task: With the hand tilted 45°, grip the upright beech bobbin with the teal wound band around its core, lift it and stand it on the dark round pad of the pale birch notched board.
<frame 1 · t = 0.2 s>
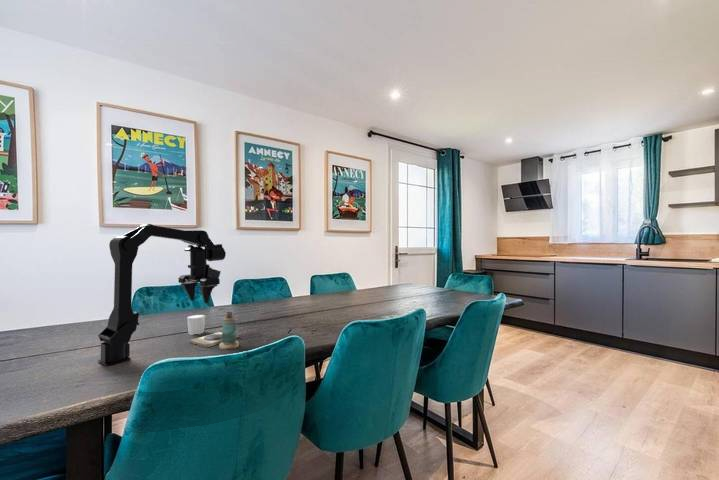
hand: (199, 301, 125), 14 cm above the table, tool pointing down, fingers open, 9 cm apart
bobbin: (229, 346, 115), on the table
white rounded piece: (196, 333, 132), on the table
notched board: (214, 340, 123), on the table
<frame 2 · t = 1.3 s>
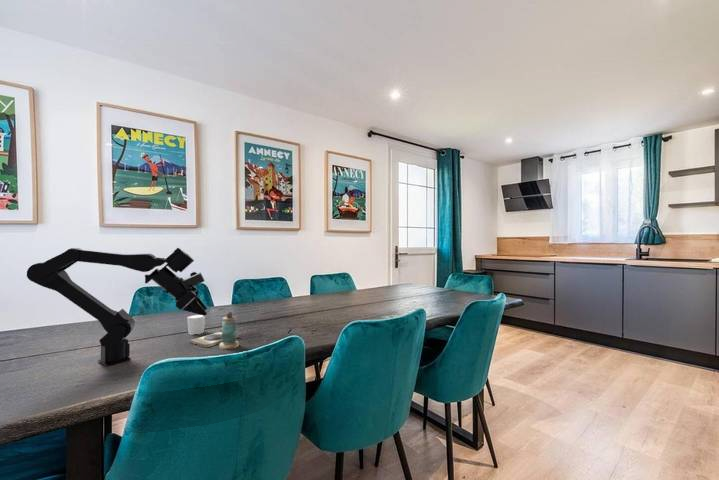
hand: (205, 311, 112), 13 cm above the table, tool tilted 45°, fingers open, 9 cm apart
nothing on the table moved.
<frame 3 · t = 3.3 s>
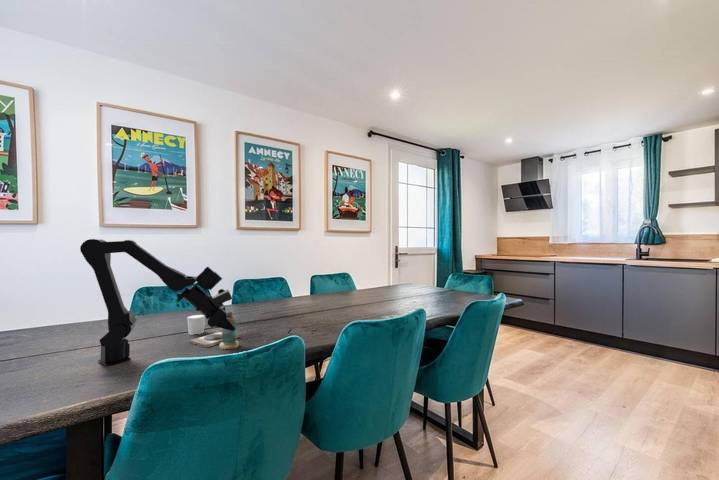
hand: (233, 327, 116), 7 cm above the table, tool tilted 45°, fingers closed on bobbin, 5 cm apart
bobbin: (229, 346, 115), on the table, touching gripper
everything else where it was.
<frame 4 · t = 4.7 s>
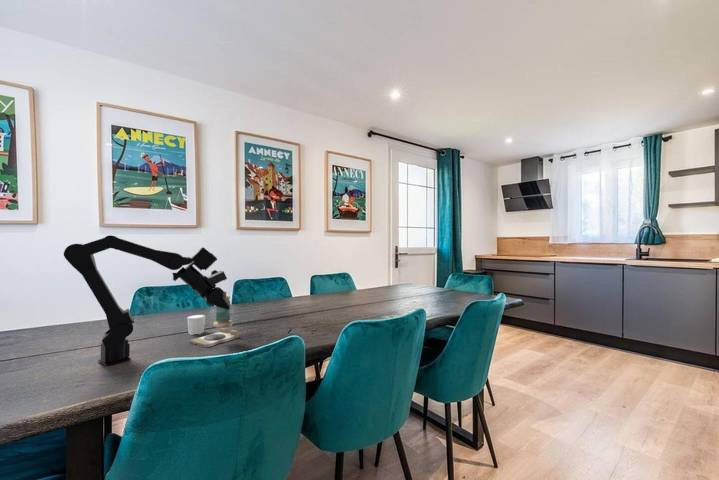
hand: (227, 307, 120), 13 cm above the table, tool tilted 45°, fingers closed on bobbin, 5 cm apart
bobbin: (223, 325, 119), point 7 cm above the table, touching gripper
everything else where it was.
when the fingers open (9 cm above the table, at t = 6.4 s): bobbin drops 1 cm, resting on notched board.
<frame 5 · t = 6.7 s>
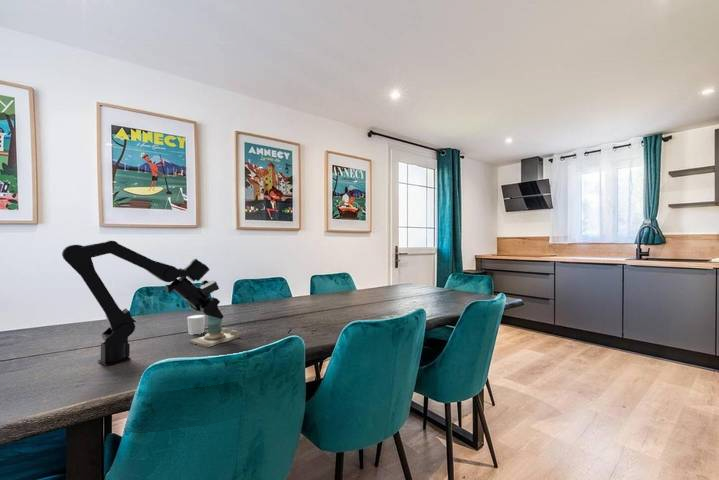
hand: (218, 316, 124), 9 cm above the table, tool tilted 45°, fingers open, 7 cm apart
bobbin: (214, 337, 123), point 1 cm above the table, touching notched board
everything else where it was.
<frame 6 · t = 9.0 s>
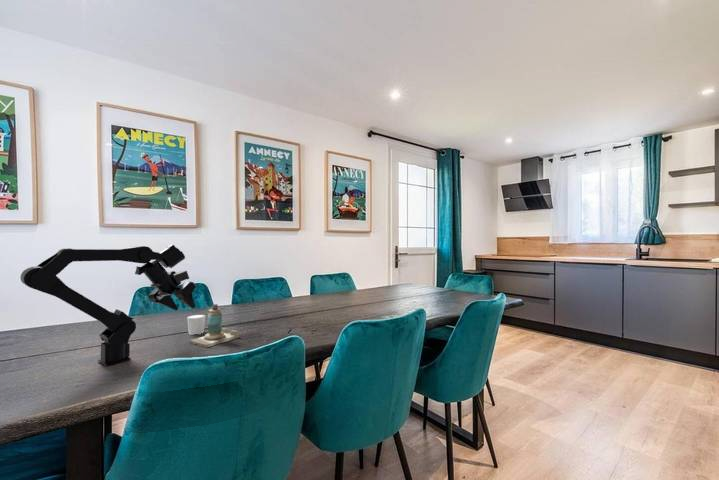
hand: (185, 308, 118), 13 cm above the table, tool tilted 35°, fingers open, 9 cm apart
nothing on the table moved.
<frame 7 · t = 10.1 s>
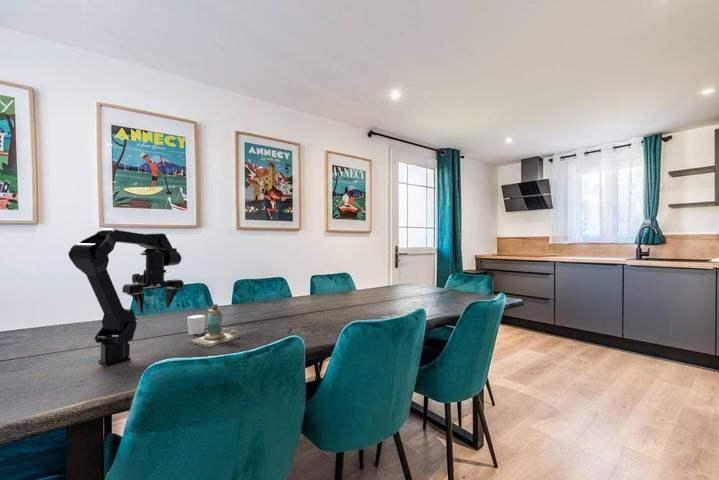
hand: (154, 309, 117), 13 cm above the table, tool pointing down, fingers open, 9 cm apart
nothing on the table moved.
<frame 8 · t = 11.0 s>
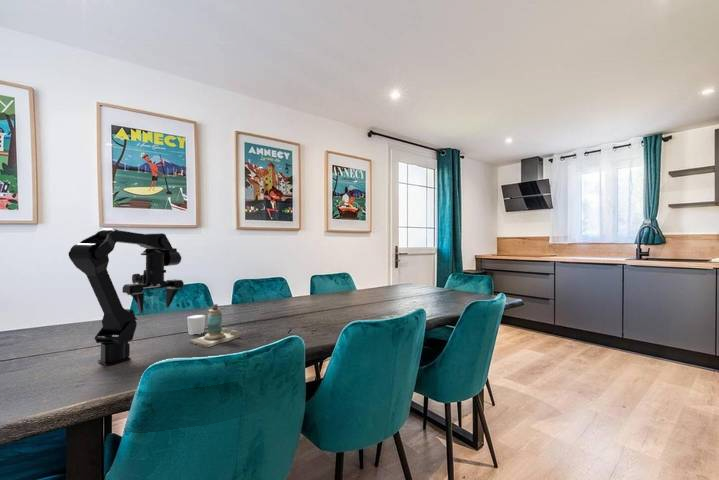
hand: (154, 309, 117), 13 cm above the table, tool pointing down, fingers open, 9 cm apart
nothing on the table moved.
at the end: bobbin 0.0 cm off-centre on the notched board, point 1.2 cm above the notched board's base; bobbin tilted 0°; the gripper is holding nothing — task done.
